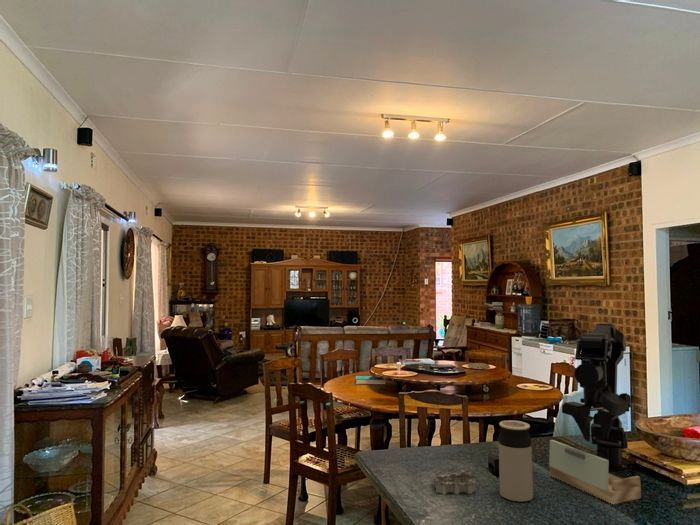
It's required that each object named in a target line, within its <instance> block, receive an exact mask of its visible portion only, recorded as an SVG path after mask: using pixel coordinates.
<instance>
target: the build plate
mask: <svg viewBox="0 0 700 525" xmlns="http://www.w3.org/2000/svg"><path fill="white" fill-rule="evenodd" d="M487 466H488V467H484V468H486V469H487V470H488V471H489V472H490V473H491V474H492V475H494V476H496V477H499V454H490V455H488V458H487ZM492 475H491V476H492Z"/></svg>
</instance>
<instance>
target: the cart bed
mask: <svg viewBox="0 0 700 525" xmlns="http://www.w3.org/2000/svg"><path fill="white" fill-rule="evenodd" d="M549 476H550V477H551V476H552V477H551V478H553V477H554V479H555V478H557V479H556V480H558V479H559V480H558V481H560V480H561V481H560V482H562V481H563V482H562V483H564V482H566V483H568V484H570V485H569V486H571V485H572V486H571V487H573V486H574V487H573V488H575V487H576V488H575V489H577V488H578V489H577V490H579V489H580V490H579V491H581V490H582V492H584V491H585V492H584V493H586V492H587V493H586V494H588V493H589V495H590V494H591V495H590V496H592V495H593V497H594V496H595V497H594V498H596V499H599V498H600V499H599V500H601V499H602V500H601V501H603V500H604V501H603V502H605V501H606V502H605V503H607V502H609V503H608V504H610V503H611V504H610V505H612V504H613V505H617V504H621V503H625V502H630V501H633V500H635V501H636V500H639V499H641V498H642V490H641V489H642V488H641V486H642V485H641V476H639V475H635V476H630V477H625V478H622V477H619V476H617V475H614V474H612V473H609V472H608V490H603V489H601V488H599V487H596V486H594V485H592V484H590V483H587V482H585V481H583V480H580V479H578V478H576V477H574V476H571V475H569V474H567V473H564V472H562V471H560V470H558V469H555V468H553V467H551V466H549ZM566 483H565V484H566ZM568 484H567V485H568Z"/></svg>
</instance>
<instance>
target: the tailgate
mask: <svg viewBox="0 0 700 525" xmlns="http://www.w3.org/2000/svg"><path fill="white" fill-rule="evenodd" d="M548 457H549V460H548V463H549V464H548V466H549V467H550V466H551V467H553V468H555V469H558V470H560V471H562V472H564V473H567V474H569V475H571V476H574V477H576V478H578V479H580V480H583V481H585V482H587V483H590V484H592V485H594V486H596V487H599V488H601V489H603V490H608V473H609V470H608V467H609V460H606V459H603V458H601V457H598V456H597V455H595V454H592V453H589V452H587V451H584V450H581V449H579V448H576V447H574V446H571V445H568V444H565V443H563V442H560V441H557V440H555V439H551V440H549V455H548Z"/></svg>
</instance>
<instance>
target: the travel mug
mask: <svg viewBox="0 0 700 525" xmlns="http://www.w3.org/2000/svg"><path fill="white" fill-rule="evenodd" d="M498 424H499V426H500V432H499V434H498V456H499V477H500V478H499V494H500V496H501V497H503V498H504V499H505V500H509V501H513V502H516V501H517V502H516V503H521V502H522V503H524V501H525V502H528V501H531V500H533V498H534V495H533V494H534V489H533V484H534V483H533V455H532V454H533V453H532V452H533V451H532V447H533V446H532V436H531V435H530V433H529V430H530V428H531V425H530V424H529V423H528V422H524V421H520V420H514V419H513V420H501V421H500V422H499V423H498Z"/></svg>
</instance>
